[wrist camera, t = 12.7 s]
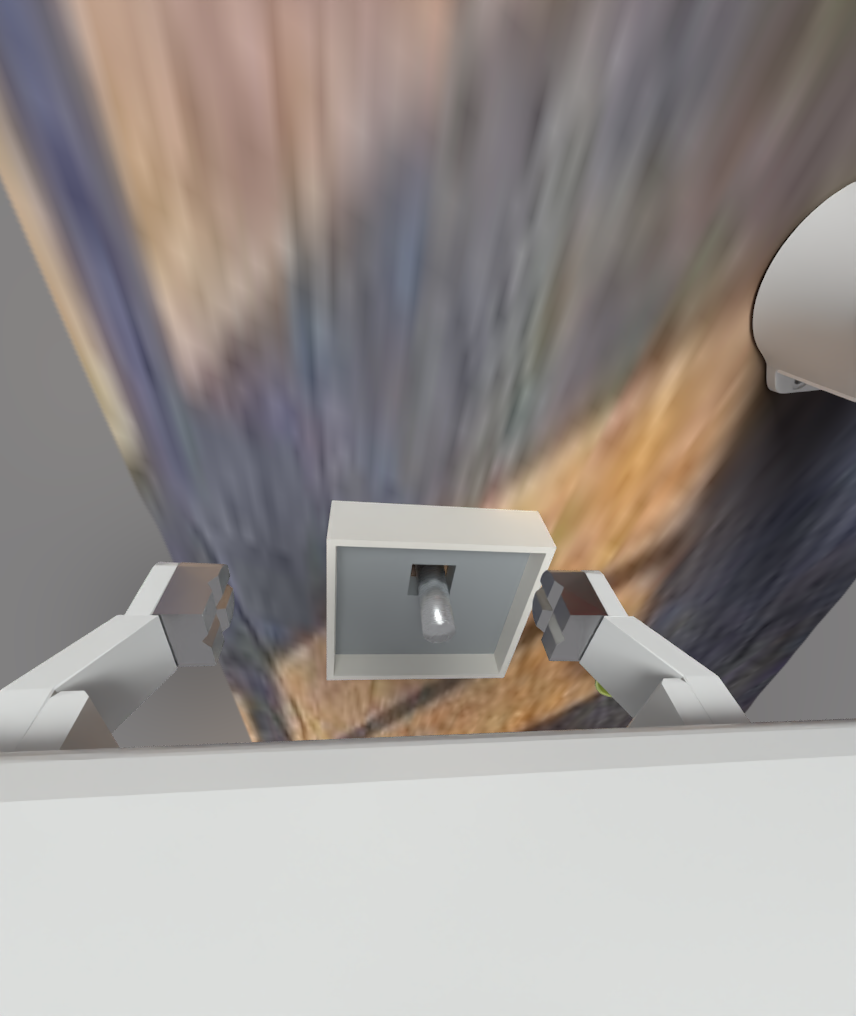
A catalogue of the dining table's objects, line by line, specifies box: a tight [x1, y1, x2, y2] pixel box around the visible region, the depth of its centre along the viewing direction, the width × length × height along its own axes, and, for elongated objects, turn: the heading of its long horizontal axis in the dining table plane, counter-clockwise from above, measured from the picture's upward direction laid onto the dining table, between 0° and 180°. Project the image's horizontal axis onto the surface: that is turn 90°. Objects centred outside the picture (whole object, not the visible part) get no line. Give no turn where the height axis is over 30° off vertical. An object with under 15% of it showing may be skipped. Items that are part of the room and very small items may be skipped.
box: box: [327, 500, 556, 680], centre depth 49 cm, size 22×22×6 cm
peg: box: [415, 564, 456, 643], centre depth 46 cm, size 3×3×10 cm
